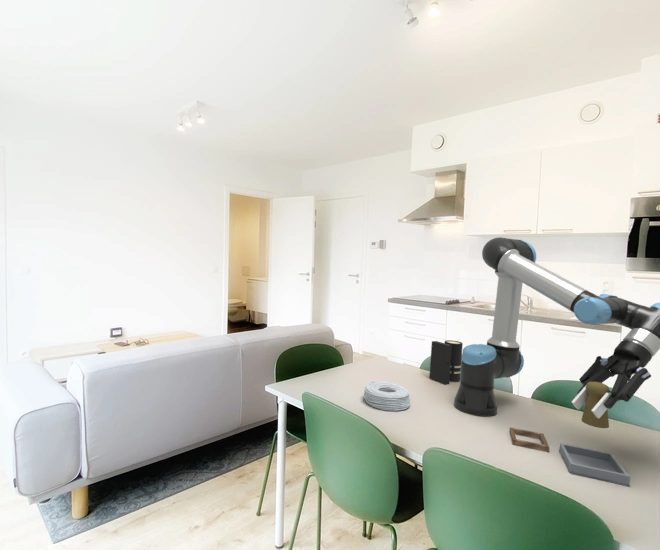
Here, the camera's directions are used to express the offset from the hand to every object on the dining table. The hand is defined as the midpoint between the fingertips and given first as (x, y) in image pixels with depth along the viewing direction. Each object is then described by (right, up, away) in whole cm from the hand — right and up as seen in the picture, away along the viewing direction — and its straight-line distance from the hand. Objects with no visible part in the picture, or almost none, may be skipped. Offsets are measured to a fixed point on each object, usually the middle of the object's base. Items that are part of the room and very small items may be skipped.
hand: (585, 409), depth 97 cm
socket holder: (-7, -15, +15) cm, 22 cm away
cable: (-47, -13, +41) cm, 63 cm away
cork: (+3, -4, +1) cm, 5 cm away
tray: (+3, -16, +1) cm, 16 cm away
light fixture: (-13, -14, +74) cm, 76 cm away
